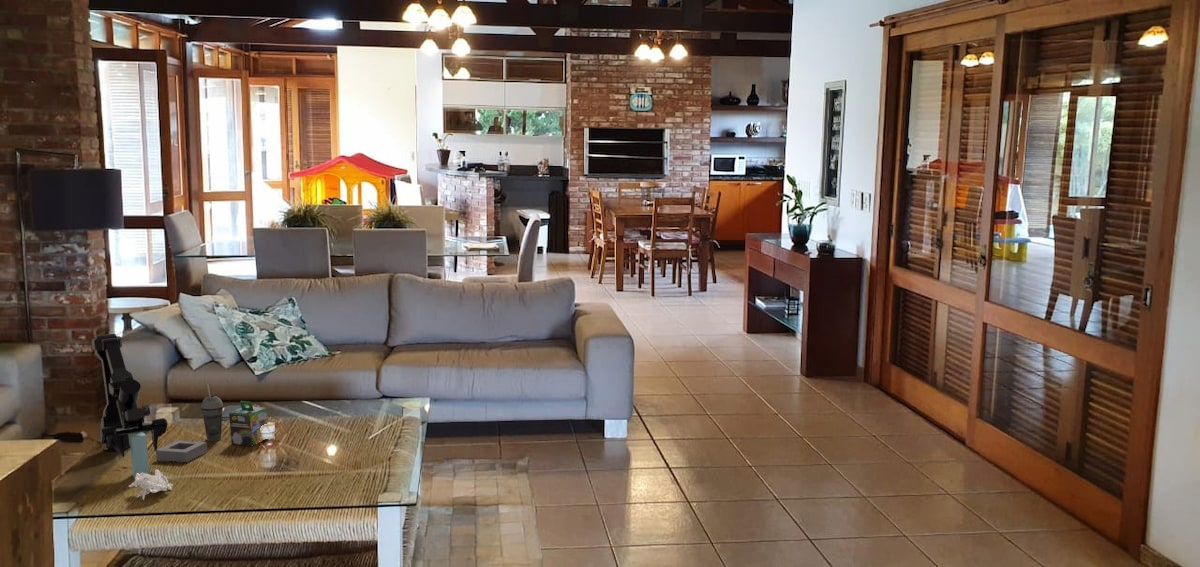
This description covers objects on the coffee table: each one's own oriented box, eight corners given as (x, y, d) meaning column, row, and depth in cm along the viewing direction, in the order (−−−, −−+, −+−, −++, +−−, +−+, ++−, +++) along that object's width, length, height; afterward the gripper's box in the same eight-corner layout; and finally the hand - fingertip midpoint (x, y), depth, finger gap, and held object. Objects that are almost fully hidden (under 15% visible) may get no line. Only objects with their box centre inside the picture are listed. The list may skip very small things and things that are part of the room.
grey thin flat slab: (254, 416, 356) (211, 418, 352) (255, 420, 356) (212, 423, 353) (261, 402, 375) (221, 404, 372) (262, 407, 375) (221, 409, 372)
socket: (156, 460, 308) (156, 450, 308) (178, 450, 319) (177, 440, 318) (186, 462, 306) (185, 452, 305) (207, 452, 316) (206, 442, 316)
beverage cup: (217, 442, 327) (213, 386, 324) (198, 441, 328) (194, 385, 325) (229, 436, 334) (226, 381, 331) (211, 435, 335) (207, 380, 332)
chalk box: (269, 439, 331) (267, 398, 329) (252, 447, 322) (249, 404, 320) (248, 436, 334) (245, 396, 332) (230, 444, 325) (227, 402, 323)
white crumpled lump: (142, 484, 269) (125, 468, 276) (137, 506, 270) (120, 489, 277) (183, 481, 278) (166, 465, 286) (178, 502, 279) (161, 485, 286)
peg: (132, 475, 294) (129, 434, 293) (146, 472, 297) (143, 432, 295) (135, 478, 291) (132, 437, 289) (149, 475, 294) (146, 435, 292)
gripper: (98, 402, 288) (109, 446, 281) (164, 393, 300) (175, 434, 293) (95, 422, 296) (105, 464, 288) (159, 412, 307) (170, 452, 300)
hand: (139, 453), depth 292 cm, fingers open, 9 cm apart
